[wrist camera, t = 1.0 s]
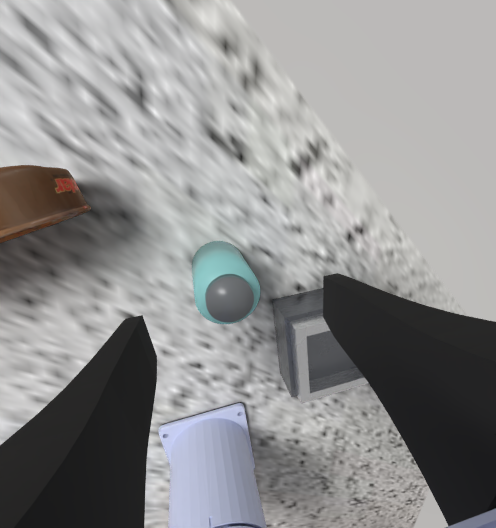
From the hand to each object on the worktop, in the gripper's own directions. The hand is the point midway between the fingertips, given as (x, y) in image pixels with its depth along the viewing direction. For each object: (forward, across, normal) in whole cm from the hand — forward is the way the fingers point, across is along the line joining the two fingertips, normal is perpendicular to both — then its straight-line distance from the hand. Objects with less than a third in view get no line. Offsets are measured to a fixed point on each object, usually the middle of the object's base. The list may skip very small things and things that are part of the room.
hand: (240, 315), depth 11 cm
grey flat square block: (+10, -8, +11) cm, 17 cm away
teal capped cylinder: (+11, 0, +3) cm, 11 cm away
